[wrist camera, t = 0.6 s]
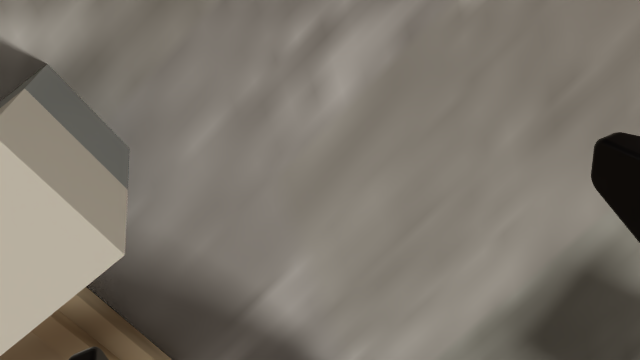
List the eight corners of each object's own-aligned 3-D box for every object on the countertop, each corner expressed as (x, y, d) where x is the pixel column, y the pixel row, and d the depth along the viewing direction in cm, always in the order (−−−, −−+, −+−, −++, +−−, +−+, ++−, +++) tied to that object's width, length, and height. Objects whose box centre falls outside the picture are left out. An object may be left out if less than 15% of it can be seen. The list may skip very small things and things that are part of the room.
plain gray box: (129, 148, 25) (125, 254, 16) (45, 216, 25) (-9, 362, 16) (47, 63, 23) (-13, 129, 14) (-45, 137, 23) (-165, 251, 14)
